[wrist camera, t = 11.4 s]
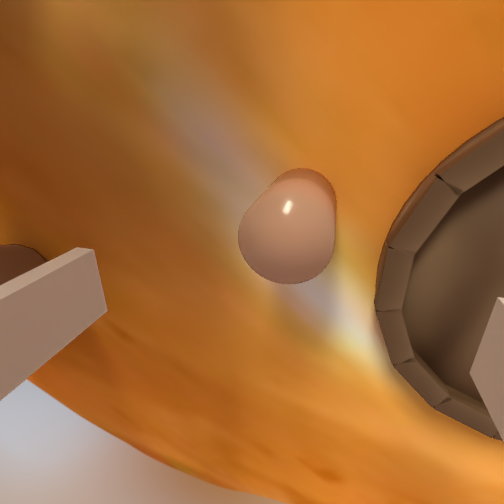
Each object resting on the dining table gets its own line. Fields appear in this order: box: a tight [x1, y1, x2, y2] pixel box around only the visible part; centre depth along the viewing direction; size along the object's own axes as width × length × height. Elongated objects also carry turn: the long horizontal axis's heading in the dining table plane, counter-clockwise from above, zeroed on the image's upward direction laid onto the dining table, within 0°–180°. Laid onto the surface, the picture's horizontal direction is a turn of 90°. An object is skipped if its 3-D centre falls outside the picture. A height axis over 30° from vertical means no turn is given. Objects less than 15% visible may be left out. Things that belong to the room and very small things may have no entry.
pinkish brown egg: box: [238, 168, 336, 284], centre depth 18 cm, size 5×5×7 cm
